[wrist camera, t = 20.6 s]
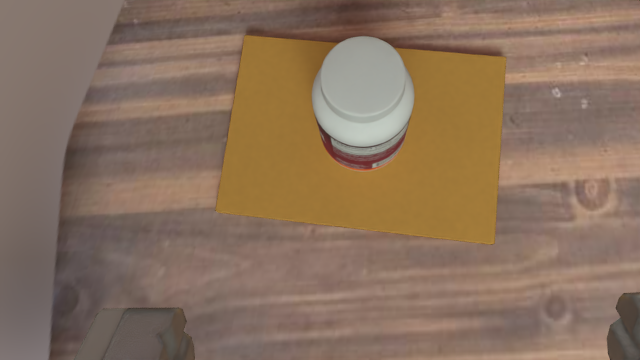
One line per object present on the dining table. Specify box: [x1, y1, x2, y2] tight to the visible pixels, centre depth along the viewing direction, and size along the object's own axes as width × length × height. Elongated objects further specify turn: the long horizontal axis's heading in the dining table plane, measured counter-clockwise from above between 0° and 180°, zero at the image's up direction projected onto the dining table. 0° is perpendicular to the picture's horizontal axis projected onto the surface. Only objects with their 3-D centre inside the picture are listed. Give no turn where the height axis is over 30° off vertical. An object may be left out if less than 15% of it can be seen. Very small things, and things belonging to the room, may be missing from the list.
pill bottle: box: [312, 36, 414, 172], centre depth 35 cm, size 6×6×11 cm
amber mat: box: [215, 35, 506, 245], centre depth 41 cm, size 20×14×1 cm
